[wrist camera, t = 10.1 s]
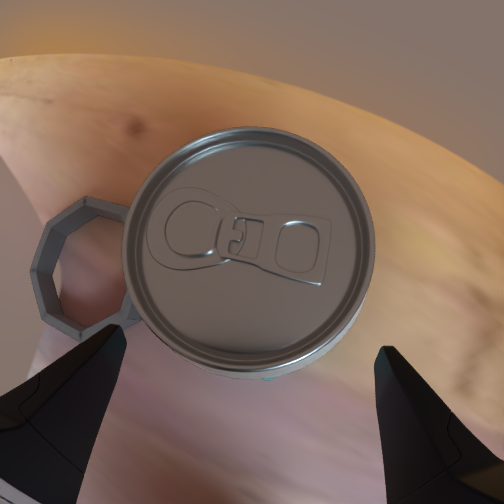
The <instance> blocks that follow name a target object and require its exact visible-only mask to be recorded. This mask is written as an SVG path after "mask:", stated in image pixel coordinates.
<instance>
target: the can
mask: <svg viewBox="0 0 504 504" xmlns="http://www.w3.org/2000/svg"><path fill="white" fill-rule="evenodd" d="M374 262H375V232H374V226H373V221H372V217H371V213H370V210H369V207H368V204H367V202H366V200H365V197H364V195H363V193H362V191H361V189H360V188H359V186H358V184H357V183H356V181H355V180H354V178H353V177H352V176H351V174H350V173H349V172H348V171H347V169H346V168H345V167H344V166H343V165H342V164H341V163H340V162H339V161H338V160H337V159H336V158H335V157H333V156H332V155H331V154H330V153H329V152H327V151H326V150H324V149H323V148H322V147H320V146H318V145H317V144H315V143H313V142H311V141H310V140H308V139H305V138H303V137H301V136H298V135H296V134H293V133H290V132H287V131H283V130H279V129H274V128H267V127H235V128H228V129H223V130H219V131H215V132H212V133H209V134H206V135H203V136H201V137H198V138H196V139H194V140H192V141H190V142H188V143H186V144H185V145H183V146H181V147H180V148H178V149H177V150H175V151H174V152H172V153H171V154H170V155H169V156H167V157H166V158H165V159H164V160H163V161H162V162H161V163H160V164H159V165H158V166H157V167H156V168H155V169H154V170H153V171H152V172H151V173H150V174H149V176H148V177H147V178H146V180H145V181H144V182H143V184H142V185H141V187H140V189H139V190H138V192H137V194H136V196H135V198H134V200H133V202H132V204H131V206H130V209H129V212H128V215H127V218H126V221H125V226H124V230H123V237H122V267H123V274H124V278H125V282H126V286H127V289H128V292H129V295H130V297H131V300H132V302H133V304H134V306H135V308H136V310H137V311H138V313H139V315H140V316H141V318H142V319H143V321H144V322H145V323H146V325H147V326H148V327H149V329H150V330H151V331H152V332H153V333H154V334H155V335H156V336H157V337H158V338H159V339H160V340H161V341H162V342H163V343H165V344H166V345H167V346H168V347H170V348H171V349H172V350H173V351H174V352H175V353H177V354H178V355H179V356H180V357H182V358H183V359H185V360H186V361H188V362H189V363H191V364H193V365H195V366H197V367H199V368H201V369H203V370H205V371H208V372H211V373H214V374H217V375H221V376H225V377H230V378H237V379H265V378H272V377H277V376H281V375H285V374H288V373H291V372H294V371H296V370H299V369H301V368H303V367H305V366H307V365H309V364H311V363H313V362H314V361H316V360H317V359H319V358H320V357H322V356H323V355H324V354H326V353H327V352H328V351H329V350H331V349H332V348H333V347H334V346H335V345H336V344H337V343H338V342H339V341H340V340H341V339H342V338H343V337H344V335H345V334H346V333H347V332H348V330H349V329H350V327H351V326H352V324H353V323H354V321H355V320H356V318H357V316H358V314H359V312H360V310H361V308H362V305H363V303H364V300H365V297H366V294H367V290H368V287H369V284H370V281H371V277H372V273H373V268H374Z"/></svg>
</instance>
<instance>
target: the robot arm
mask: <svg viewBox="0 0 504 504" xmlns="http://www.w3.org/2000/svg"><path fill="white" fill-rule="evenodd" d="M126 345H127V342H126V338H125V336H124V333H123V330H122V327H121V326H120V325H118V324H112V323H111V324H108V325H107V326H105V327H104V328H102V329H101V330H99V331H98V332H96V333H95V334H94V335H92V336H91V337H89V338H88V339H86V340H85V341H83V342H82V343H80V344H79V345H78V346H76V347H75V348H73V349H72V350H70V351H69V352H67V353H66V354H65V355H63V356H62V357H60V358H59V359H57V360H56V361H54V362H53V363H52V364H50V365H49V366H47V367H46V368H44V369H43V370H42V371H41V372H39V373H37V374H36V375H34V376H33V377H32V378H30V379H29V380H27V381H26V382H24V383H23V384H21V385H19V386H18V387H16V388H14V389H13V390H11V391H9V392H8V393H6V394H4V395H3V396H1V397H0V504H76V501H77V498H78V494H79V491H80V488H81V484H82V481H83V478H84V473H85V471H86V467H87V464H88V461H89V458H90V455H91V452H92V449H93V446H94V443H95V440H96V437H97V434H98V431H99V428H100V426H101V423H102V420H103V417H104V414H105V412H106V409H107V406H108V403H109V401H110V398H111V395H112V393H113V390H114V388H115V385H116V382H117V379H118V375H119V371H120V368H121V364H122V360H123V357H124V353H125V350H126ZM374 375H375V395H376V409H377V416H378V423H379V430H380V438H381V446H382V454H383V463H384V473H385V484H386V497H387V504H504V461H503V460H501V459H500V458H498V457H497V456H495V455H494V454H493V453H492V452H491V451H490V450H489V449H488V448H487V447H486V446H485V445H484V444H483V443H482V442H481V441H480V440H478V439H477V438H476V437H475V436H474V435H473V434H472V433H471V432H470V431H469V430H468V429H467V428H466V427H465V425H464V424H463V423H462V422H461V421H460V420H459V419H458V418H457V417H456V415H455V414H454V413H453V412H451V410H450V409H449V407H448V406H447V405H446V404H445V403H444V402H443V400H442V399H441V398H440V397H439V396H438V395H437V394H436V393H435V391H434V390H433V389H432V388H431V387H430V386H429V385H428V384H427V382H426V381H425V380H424V379H423V378H422V377H421V376H420V375H419V373H418V372H417V371H416V370H415V369H414V368H413V367H412V366H411V365H410V364H409V362H408V361H407V360H406V359H405V358H404V357H403V356H402V355H401V354H400V353H399V351H398V350H397V349H396V348H395V347H394V346H382V347H381V348H380V351H379V353H378V355H377V358H376V360H375V363H374Z"/></svg>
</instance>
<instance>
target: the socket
mask: <svg viewBox="0 0 504 504" xmlns="http://www.w3.org/2000/svg"><path fill="white" fill-rule="evenodd" d="M128 212H129V208H128V207H126V206H122V205H118V204H114V203H111V202H107V201H103V200H100V199H96V198H92V197H89V196H85V197H83V198H81V199H80V200H78V201H77V202H75V203H74V204H73V205H71V206H70V207H68V208H67V209H65V210H64V211H62V212H61V213H60V214H58V215H57V216H55V217H54V218H52V219H51V220H50V221H48V222H47V224H46V226H45V229H44V231H43V234H42V237H41V239H40V242H39V245H38V248H37V250H36V253H35V256H34V259H33V262H32V265H31V268H30V276H31V280H32V284H33V289H34V293H35V297H36V300H37V304H38V308H39V311H40V315H41V319H42V320H43V321H44V322H46V323H48V324H49V325H51V326H53V327H54V328H56V329H58V330H59V331H61V332H63V333H64V334H66V335H68V336H70V337H71V338H73V339H75V340H77V341H79V342H80V343H82V342H83V341H85V340H86V339H88V338H89V337H91V336H92V335H94V334H95V333H96V332H98V331H99V330H101V329H102V328H104V327H105V326H107V325H108V324H111V323H112V324H118V325H120V326H121V327H122V330H123V329H125V328H127V327H129V326H131V325H133V324H135V323H137V322H139V321H140V320H141V316H140V315H139V313H138V311H137V310H136V308H135V306H134V304H133V302H132V300H131V297H130V295H129V292H128V289H127V290H126V293H125V296H124V299H123V302H122V305H121V308H120V311H119V312H117V313H115V314H113V315H111V316H109V317H108V318H106V319H104V320H102V321H100V322H98V323H96V324H95V325H93V326H91V327H89V328H86V327H84V326H82V325H80V324H78V323H77V322H75V321H73V320H71V319H69V318H67V317H66V316H64V315H63V312H62V309H61V306H60V302H59V299H58V295H57V292H56V288H55V285H54V281H53V277H52V275H53V272H54V269H55V266H56V263H57V260H58V257H59V254H60V252H61V249H62V246H63V243H64V241H65V238H66V236H67V235H69V234H70V233H72V232H73V231H75V230H76V229H78V228H79V227H81V226H82V225H84V224H85V223H87V222H88V221H90V220H92V219H93V218H95V217H96V216H98V215H100V216H103V217H107V218H110V219H113V220H117V221H120V222H123V223H124V226H125V221H126V218H127V215H128Z"/></svg>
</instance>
